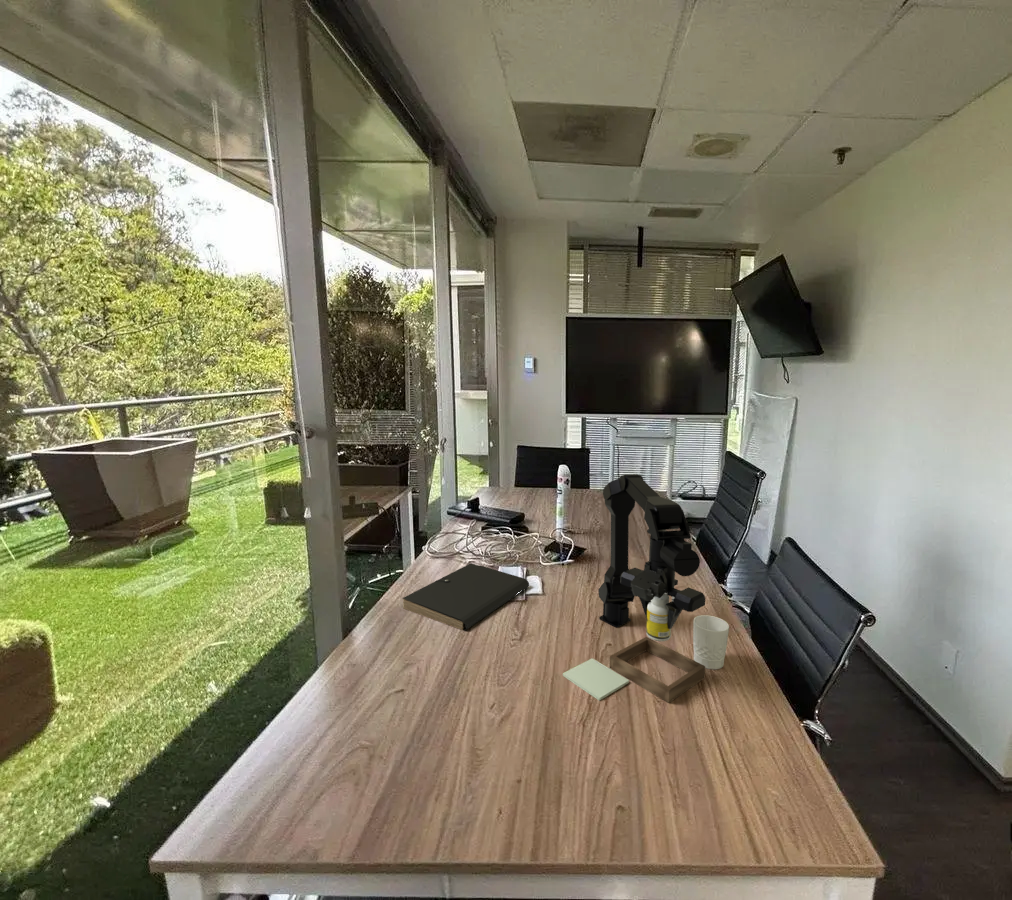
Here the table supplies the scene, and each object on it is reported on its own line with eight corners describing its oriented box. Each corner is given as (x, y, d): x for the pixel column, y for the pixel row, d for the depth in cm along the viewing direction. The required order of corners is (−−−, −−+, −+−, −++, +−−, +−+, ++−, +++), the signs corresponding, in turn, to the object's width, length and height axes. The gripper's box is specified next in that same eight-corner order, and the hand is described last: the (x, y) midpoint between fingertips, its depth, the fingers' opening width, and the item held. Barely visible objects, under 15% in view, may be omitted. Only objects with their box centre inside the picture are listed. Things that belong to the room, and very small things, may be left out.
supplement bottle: (651, 627, 115) (653, 588, 114) (674, 635, 112) (676, 595, 110) (642, 636, 111) (644, 596, 110) (665, 644, 108) (667, 603, 106)
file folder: (470, 561, 171) (529, 578, 157) (470, 573, 171) (528, 590, 158) (401, 596, 143) (466, 620, 130) (402, 609, 144) (465, 634, 131)
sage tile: (562, 675, 112) (562, 673, 112) (592, 660, 118) (592, 658, 118) (599, 700, 103) (599, 698, 103) (629, 682, 109) (629, 680, 109)
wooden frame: (609, 667, 115) (609, 655, 114) (645, 647, 123) (646, 636, 123) (668, 703, 102) (669, 690, 102) (704, 678, 111) (705, 666, 110)
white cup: (705, 673, 113) (707, 633, 111) (684, 655, 120) (686, 617, 119) (733, 668, 115) (736, 628, 113) (711, 650, 122) (713, 613, 121)
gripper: (606, 554, 111) (603, 618, 113) (679, 581, 96) (674, 653, 99) (636, 544, 118) (633, 604, 120) (708, 567, 103) (704, 636, 106)
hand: (658, 623), depth 111 cm, fingers closed on supplement bottle, 5 cm apart
